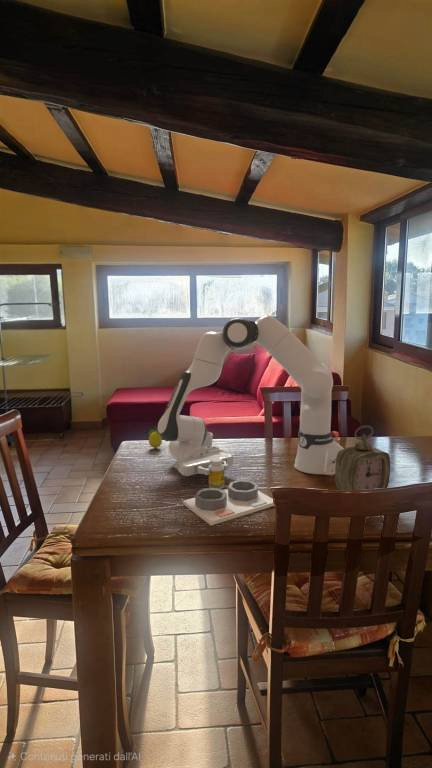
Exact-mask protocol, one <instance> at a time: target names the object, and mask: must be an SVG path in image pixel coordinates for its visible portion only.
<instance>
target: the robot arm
mask: <svg viewBox="0 0 432 768" xmlns="http://www.w3.org/2000/svg"><path fill="white" fill-rule="evenodd" d="M252 343H255V344H258V345H260V347H262V348H263V349H264V350H265V351H266V352H267V353H268V354H269V355H270V356H271V357H272V358H273V359H274V360H275V361H276V362H277V363H278V364H279V365H280V366H281V367H282V368H283V369H284V371H286V373H287V374H288V375H289V376H290V378H292V380H293V381H294V383H296V384H297V386H298V387H299V388H300V391H301V393H300V394H301V395H300V415H299V416H300V417H299V418H300V419H299V429H298V435H297V436H298V437H297V439H298V444H297V452H296V456H295V459H294V461H295V462H294V464H293V467H294V468H295V469H296V470H297V471H299V472H302V473H306V474H312V475H325V476H334V475H335V466H336V458H337V454H338V452H339V451H340V450H342V449H345V448H344V447H343V446H341V445H340V444H338V443H337V442H336V441H335V440H334V437H335V438H338V437H339V432H338V431H335V430H333V431H331V423H332V421H331V420H332V396H333V395H332V391H333V387H334V379H333V378H334V377H333V373H332V370H331V368H330V367H329V366H328V365H327V363H326V364H325V363H324V362H321V361H319V360H318V359H317V358H316V356H315V355H314V354H313V353H312V352H311V350H309V349H308V347H307V346H306V345H305V344H304V343H303V342H302V341H301V340H300V339H299V338H298V337H297V336H296V335H295V334H294V333H293V332H292V331H291V330H289V328H288V327H287V326H285V325H284V324H283V323H282V322H281V321H279V320H278V319H276V318H275V317H273V316H271V315H269V314H265V315H263V316H260V317H259V318H258V319H256V320H255V321H254V320H250V319H245V318H243V317H234V318H232V319H230V320H228V321H227V322H226V323H225V324H224V326H223V329H222V331H219V332H218V331H207V332H205V333H204V334H202V335H201V338H200V339H199V342H198V344H197V347H196V350H195V354H194V357H193V359H192V363H191V364H190V366H189V367H188V368H187V370H185V371H183V372H182V373H181V374H180V376H179V378H178V379H177V381H176V384H175V386H174V388H173V391H172V393H171V395H170V398H169V400H168V403H167V405H166V408H165V410H164V412H163V413H162V415H161V417H160V418H159V420H158V423H157V426H156V429H157V430H158V433H159V435H160V436H161V437H162V441H165V442H169V444H168V451H169V453H170V455H171V457H172V458H173V459H174V460H175V461H176V462H174V463H173V467H174V468H175V469H177V471H178V472H179V474H181V475H182V476H184V477H190V476H193V475H197V474H200V475H205V476H209V474H210V469H209V465H211V463H210V460H211V459H212V458H221V459H222V462H223V463H222V465H223V466H224V472H226V471H229V470H230V467H231V466H233V465H234V455H233V454H231V453H230V452H228V451H226V450H224V449H220V447H219V446H217V445H212V446H202V445H203V443H204V441H205V439H206V435H207V432H208V429H207V428H208V427H207V425H206V422H205V421H204V419H203V418H202V417H198V416H192V415H184V414H183V415H182V414H180V413H181V411H182V409H183V408H184V407H183V406H184V404H185V401H186V399H187V397H188V395H189V394H190V393H191V392H192V391H195V390H196V389H199V388H203V387H208V386H211V385H213V384H214V383H215V382H217V381H218V380H219V378H220V376H221V374H222V370H223V368H224V367H223V366H224V364H225V363H224V362H225V358H226V355H227V354H228V352H229V351H230V350H244V349H246V348H247V347H249V346H250V345H251V344H252Z"/></svg>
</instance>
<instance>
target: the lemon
mask: <svg viewBox="0 0 432 768" xmlns="http://www.w3.org/2000/svg"><path fill="white" fill-rule="evenodd" d="M148 436H149V437H148V444H149V446H150V447H152V448H154V449H155V450H156V449H158V448H160V446H161V445H162V442H163V439H162V437H161V436H160V435H159V433H158V430H157V428H155V429H154V428H153V429H150V430H149V432H148Z"/></svg>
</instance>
